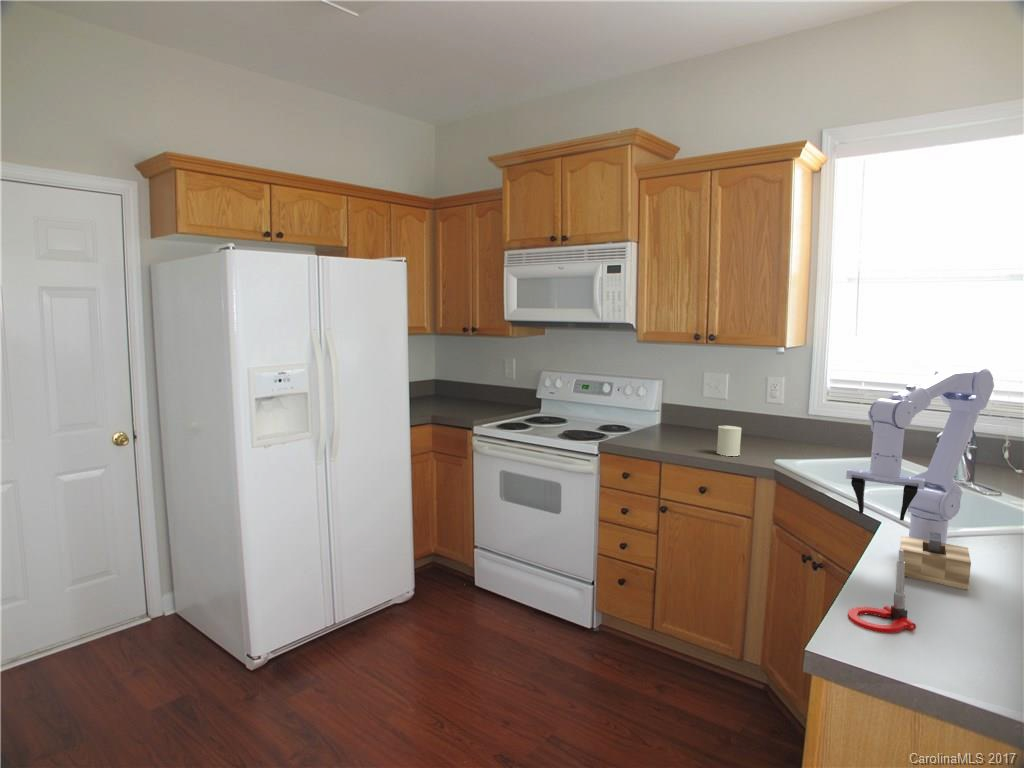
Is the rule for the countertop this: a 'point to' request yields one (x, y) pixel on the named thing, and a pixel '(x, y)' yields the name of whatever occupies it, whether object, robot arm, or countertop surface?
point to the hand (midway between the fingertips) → (881, 515)
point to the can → (729, 440)
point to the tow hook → (894, 612)
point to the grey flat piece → (934, 542)
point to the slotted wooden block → (936, 563)
